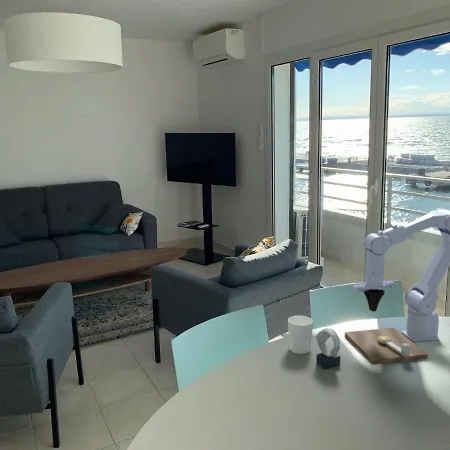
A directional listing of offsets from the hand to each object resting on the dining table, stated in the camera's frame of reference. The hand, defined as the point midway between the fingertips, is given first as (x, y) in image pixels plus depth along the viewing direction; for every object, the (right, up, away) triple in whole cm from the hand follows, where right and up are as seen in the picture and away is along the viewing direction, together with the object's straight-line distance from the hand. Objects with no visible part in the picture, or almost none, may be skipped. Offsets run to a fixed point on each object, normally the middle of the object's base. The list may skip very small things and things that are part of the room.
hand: (372, 310), depth 156 cm
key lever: (+4, -10, -8) cm, 14 cm away
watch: (-18, -14, -14) cm, 26 cm away
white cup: (-25, -12, -4) cm, 28 cm away
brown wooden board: (+3, -11, -3) cm, 12 cm away
